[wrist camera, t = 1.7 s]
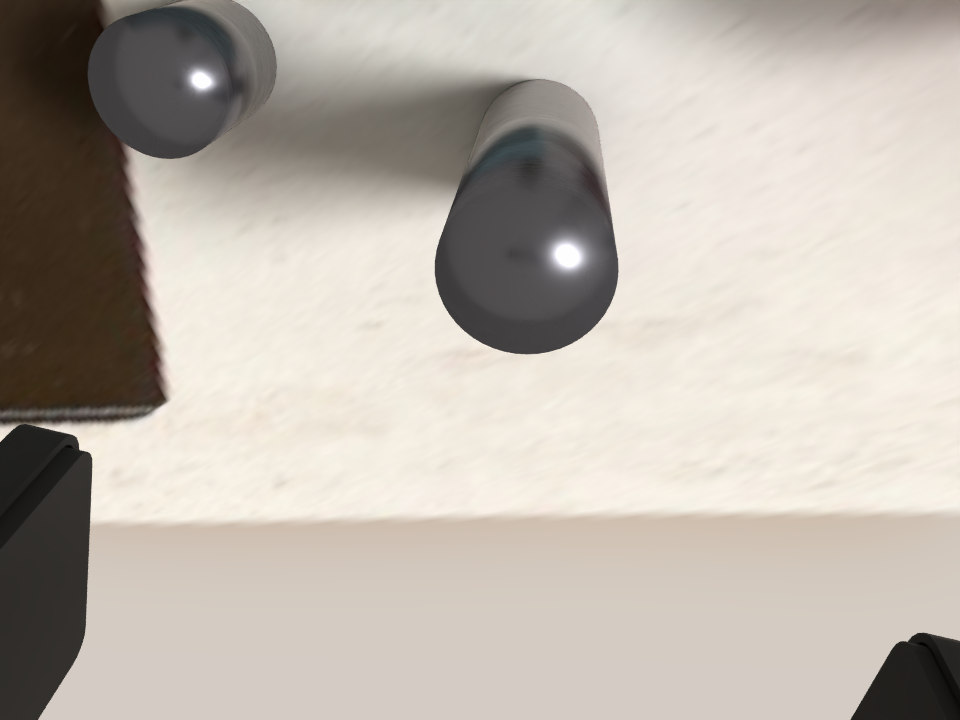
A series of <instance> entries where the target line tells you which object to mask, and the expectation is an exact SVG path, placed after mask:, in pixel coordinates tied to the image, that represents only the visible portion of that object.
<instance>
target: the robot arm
mask: <svg viewBox="0 0 960 720" xmlns="http://www.w3.org/2000/svg"><path fill="white" fill-rule="evenodd" d="M91 484H92V457H91V454H90V453H88V452H85V451H81V450H79V443H78V440H77V438H76V437H75V436H73V435H70V434H66V433H62V432H57V431H53V430H49V429H44V428H40V427H36V426H32V425H27V424H22V425H19V426H17V427H16V428H15V429H13V430H12V431H11V432H10V433H9V434H8V435H7V436H6V437H5V438H4V439H3V440H2V441H1V442H0V720H38V719H39V717H40V715H41V714H42V712H43V710H44V709H45V708H46V706H47V704H48V703H49V701H50V700H51V698H52V696H53V695H54V693H55V692H56V690H57V689H58V687H59V685H60V684H61V682H62V681H63V679H64V678H65V676H66V674H67V673H68V671H69V670H70V668H71V666H72V665H73V663H74V661H75V659H76V658H77V656H78V653H79V651H80V648H81V645H82V643H83V639H84V635H85V627H86V604H87V580H88V556H89V532H90V508H91ZM851 720H960V641H958V640H954V639H949V638H944V637H940V636H936V635H932V634H928V633H917V634H916V635H914V636H912V637H911V639H910V640H909V641H908V642H906V641H905V642H904V641H902V642H899V643H897V644H896V645H895V646H894V647H893V649H892V650H891V652H890V654H889V655H888V657H887V659H886V660H885V662H884V664H883V665H882V667H881V669H880V671H879V672H878V674H877V676H876V677H875V679H874V681H873V682H872V684H871V686H870V688H869V689H868V691H867V693H866V695H865V696H864V698H863V700H862V701H861V703H860V704H859V706H858V708H857V710H856V712H855V713H854V715H853V716H852V718H851Z"/></svg>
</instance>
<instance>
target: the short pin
mask: <svg viewBox="0 0 960 720" xmlns="http://www.w3.org/2000/svg"><path fill="white" fill-rule="evenodd" d="M276 68H277V66H276V56H275V51H274V48H273V45H272V42H271V39H270V37H269V35H268V33H267V32H266V30H265V28H264V27H263V25H262V24H261V23H260V21H259V20H258V19H257V18H256V17H255V16H254V15H253V14H252V13H251V12H250V11H248V10H247V9H246V8H245V7H243V6H241V5H240V4H238V3H236V2H234V1H232V0H184V1H180V2H176V3H173V4H169V5H166V6H162V7H158V8H155V9H151V10H148V11H144V12H141V13H137V14H133V15H130V16H126V17H124V18H121V19H119V20H117V21H115V22H114V23H112V24H111V25H109V26H108V27H107V28H106V29H105V30H104V31H103V32H102V33H101V35H100V36H99V37H98V39H97V41H96V42H95V44H94V46H93V49H92V51H91V54H90V58H89V64H88V83H89V89H90V93H91V97H92V100H93V102H94V105H95V107H96V109H97V111H98V113H99V115H100V117H101V118H102V120H103V121H104V123H105V124H106V125H107V127H108V128H109V129H110V130H111V131H112V132H113V133H114V134H115V135H116V136H117V137H118V138H119V139H120V140H121V141H123V142H124V143H125V144H127V145H128V146H130V147H131V148H133V149H135V150H137V151H139V152H141V153H143V154H146V155H149V156H152V157H157V158H165V159H174V158H182V157H186V156H189V155H192V154H194V153H196V152H198V151H200V150H202V149H203V148H205V147H206V146H207V145H209V144H210V143H212V142H213V141H215V140H216V139H217V138H219V137H220V136H222V135H223V134H225V133H226V132H227V131H229V130H230V129H232V128H233V127H234V126H236V125H237V124H239V123H240V122H242V121H243V120H244V119H246V118H247V117H249V116H250V115H252V114H253V113H254V112H256V111H257V110H258V109H259V108H260V107H261V106H262V105H263V104H264V103H265V102H266V100H267V99H268V97H269V96H270V94H271V92H272V89H273V86H274V83H275V78H276Z"/></svg>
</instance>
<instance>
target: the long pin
mask: <svg viewBox="0 0 960 720" xmlns="http://www.w3.org/2000/svg"><path fill="white" fill-rule="evenodd" d="M435 277H436V284H437V288H438V291H439V295H440V297H441V299H442V302H443V304H444V306H445V308H446V309H447V311H448V313H449V314H450V316H451V317H452V318H453V319H454V321H455V322H456V323H457V324H458V325H459V326H460V327H461V328H462V329H463V330H464V331H465V332H466V333H468V334H469V335H470V336H472V337H473V338H474V339H476V340H478V341H479V342H481V343H483V344H485V345H487V346H490V347H492V348H495V349H498V350H501V351H504V352H510V353H515V354H539V353H545V352H550V351H554V350H557V349H560V348H563V347H565V346H567V345H569V344H572V343H573V342H575V341H577V340H578V339H580V338H582V337H583V336H584V335H585V334H587V333H588V332H589V331H590V330H591V329H592V328H593V327H594V326H595V325H596V324H597V323H598V322H599V321H600V320H601V318H602V317H603V316H604V314H605V313H606V311H607V309H608V307H609V306H610V304H611V301H612V299H613V296H614V294H615V290H616V286H617V280H618V258H617V251H616V244H615V237H614V231H613V224H612V217H611V211H610V204H609V197H608V191H607V184H606V177H605V170H604V164H603V157H602V150H601V144H600V137H599V131H598V125H597V122H596V118H595V116H594V114H593V112H592V110H591V108H590V107H589V105H588V103H587V102H586V101H585V100H584V99H583V98H582V97H581V96H580V95H579V94H578V93H577V92H576V91H574V90H573V89H571V88H570V87H568V86H566V85H564V84H561V83H558V82H555V81H550V80H529V81H525V82H521V83H519V84H516V85H514V86H512V87H510V88H508V89H507V90H505V91H504V92H503V93H501V94H500V95H499V96H498V97H497V98H496V99H495V100H494V101H493V103H492V104H491V105H490V107H489V108H488V110H487V112H486V114H485V116H484V118H483V121H482V124H481V126H480V129H479V132H478V135H477V137H476V140H475V143H474V146H473V149H472V151H471V154H470V157H469V160H468V162H467V165H466V168H465V171H464V174H463V176H462V179H461V182H460V185H459V187H458V190H457V193H456V196H455V199H454V201H453V204H452V207H451V210H450V212H449V215H448V218H447V221H446V224H445V226H444V229H443V232H442V235H441V237H440V240H439V244H438V247H437V251H436V258H435Z"/></svg>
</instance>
